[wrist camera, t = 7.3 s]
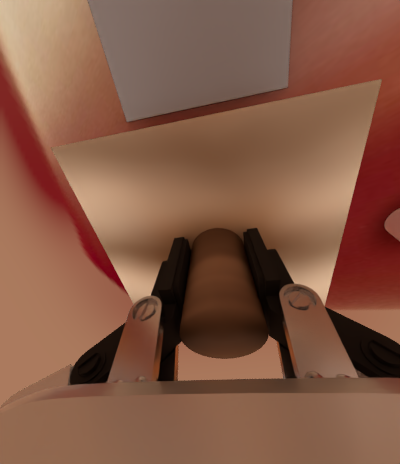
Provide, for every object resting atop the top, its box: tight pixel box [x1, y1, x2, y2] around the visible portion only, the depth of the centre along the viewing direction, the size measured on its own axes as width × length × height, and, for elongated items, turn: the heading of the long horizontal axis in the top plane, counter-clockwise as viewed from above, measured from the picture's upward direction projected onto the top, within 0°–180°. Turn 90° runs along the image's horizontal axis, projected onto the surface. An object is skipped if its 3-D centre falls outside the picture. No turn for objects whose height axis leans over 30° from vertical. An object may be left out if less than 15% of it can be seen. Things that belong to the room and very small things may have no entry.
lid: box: [51, 79, 382, 359], centre depth 9 cm, size 14×14×6 cm
